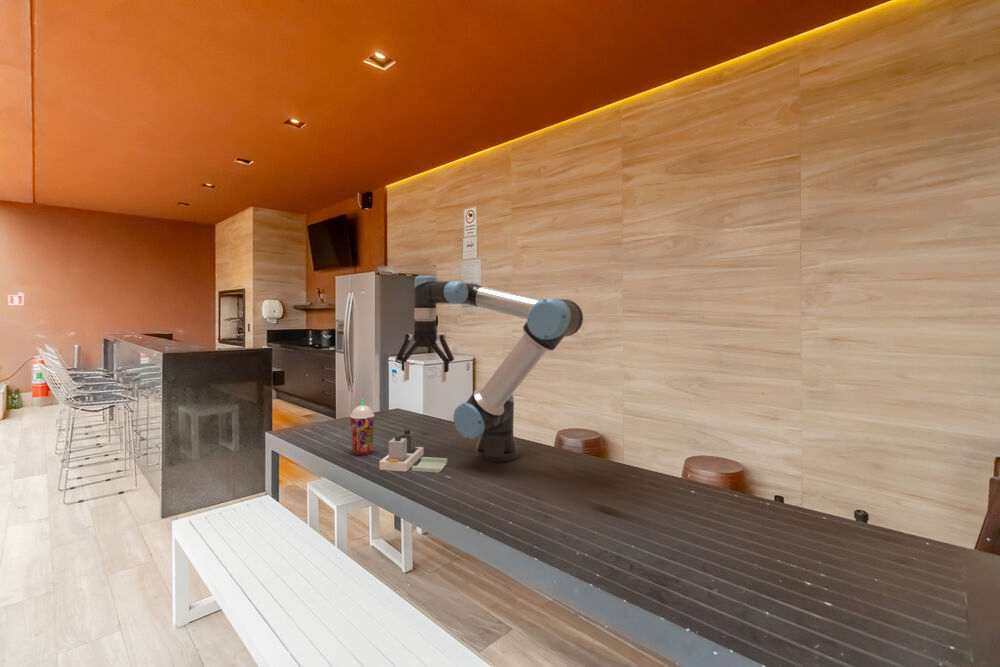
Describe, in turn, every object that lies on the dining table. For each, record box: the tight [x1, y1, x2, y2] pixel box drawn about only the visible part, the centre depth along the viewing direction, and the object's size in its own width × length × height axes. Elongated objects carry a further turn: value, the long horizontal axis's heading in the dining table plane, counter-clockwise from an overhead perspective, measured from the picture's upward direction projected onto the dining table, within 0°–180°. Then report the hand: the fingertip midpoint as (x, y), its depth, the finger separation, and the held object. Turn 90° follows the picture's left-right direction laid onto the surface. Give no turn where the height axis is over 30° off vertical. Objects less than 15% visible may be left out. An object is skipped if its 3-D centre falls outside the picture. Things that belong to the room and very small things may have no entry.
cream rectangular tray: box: [378, 427, 425, 472], centre depth 151 cm, size 9×17×10 cm, turn 171°
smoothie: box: [349, 397, 375, 456], centre depth 161 cm, size 8×8×20 cm
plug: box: [388, 434, 407, 462], centre depth 146 cm, size 4×4×10 cm
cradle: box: [411, 456, 449, 473], centre depth 147 cm, size 9×10×2 cm
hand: (425, 380), depth 157 cm, fingers open, 13 cm apart
